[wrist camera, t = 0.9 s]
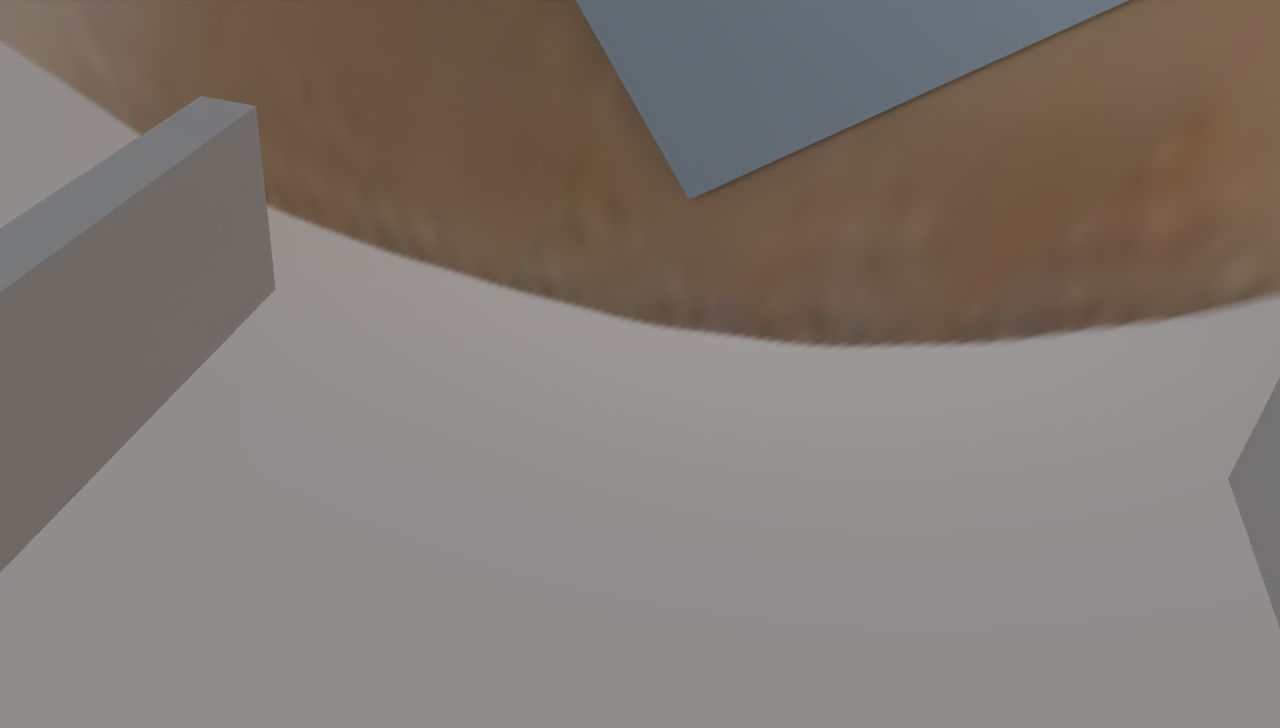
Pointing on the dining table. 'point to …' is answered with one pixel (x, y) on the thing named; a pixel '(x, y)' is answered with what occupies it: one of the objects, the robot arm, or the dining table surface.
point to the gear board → (797, 66)
